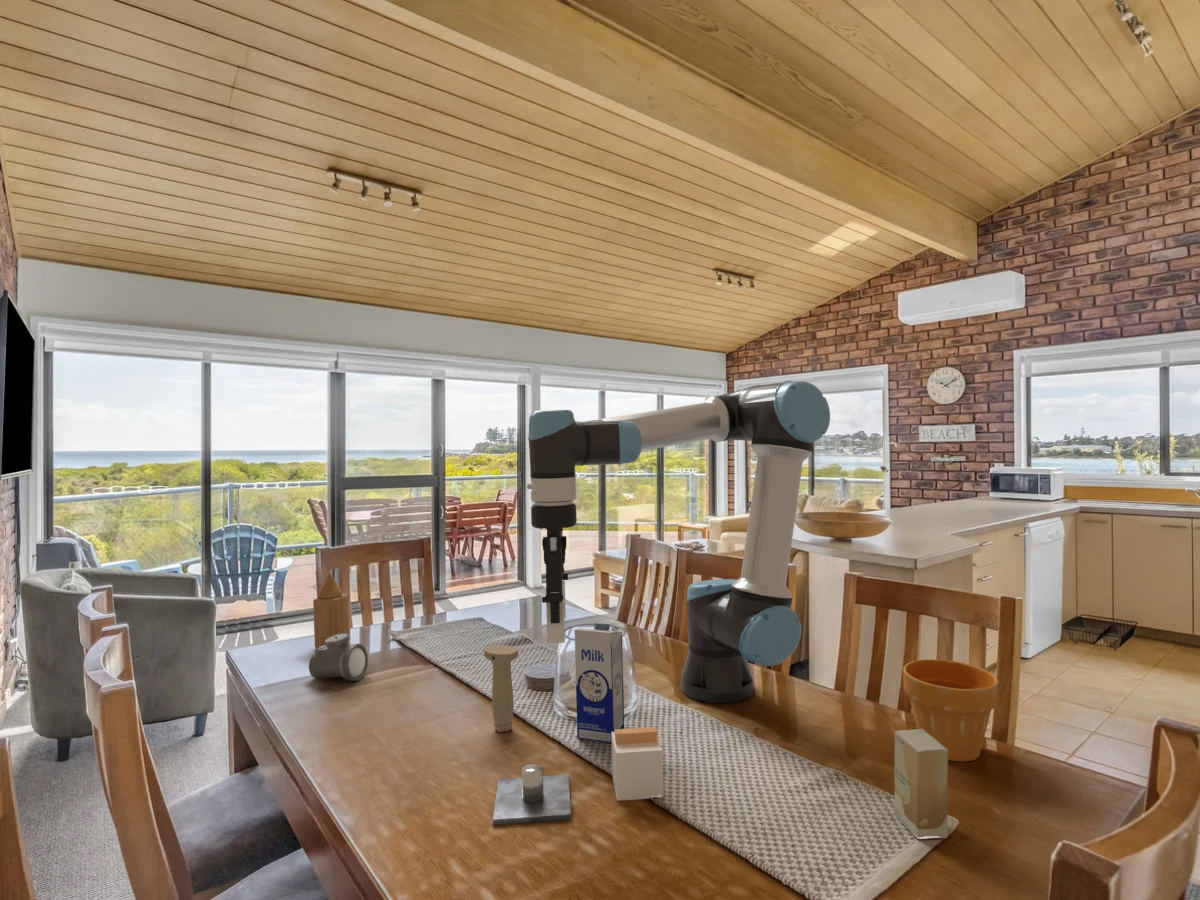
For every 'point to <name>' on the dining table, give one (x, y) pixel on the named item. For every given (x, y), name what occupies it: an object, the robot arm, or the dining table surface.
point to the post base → (532, 809)
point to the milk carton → (599, 682)
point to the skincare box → (921, 783)
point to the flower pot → (952, 703)
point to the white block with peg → (636, 763)
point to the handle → (502, 685)
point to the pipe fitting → (339, 659)
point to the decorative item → (330, 612)
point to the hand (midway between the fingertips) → (557, 629)
